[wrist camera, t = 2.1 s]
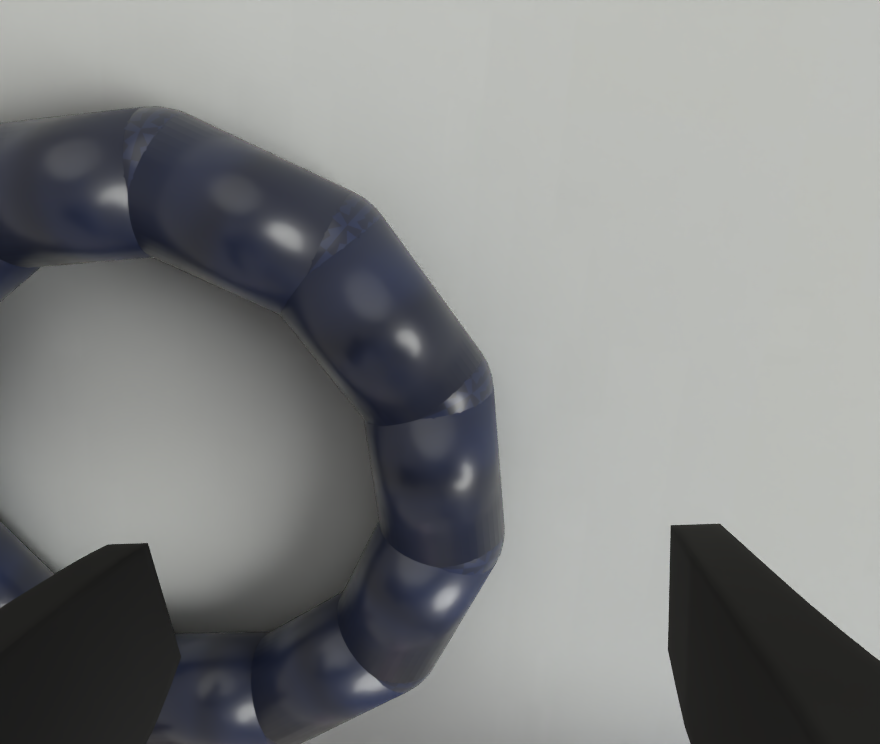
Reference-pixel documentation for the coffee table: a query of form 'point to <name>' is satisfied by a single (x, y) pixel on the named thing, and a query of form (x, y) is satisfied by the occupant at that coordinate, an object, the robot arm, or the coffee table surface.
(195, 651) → the dark blue ring
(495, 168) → the coffee table surface
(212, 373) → the coffee table surface
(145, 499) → the coffee table surface
